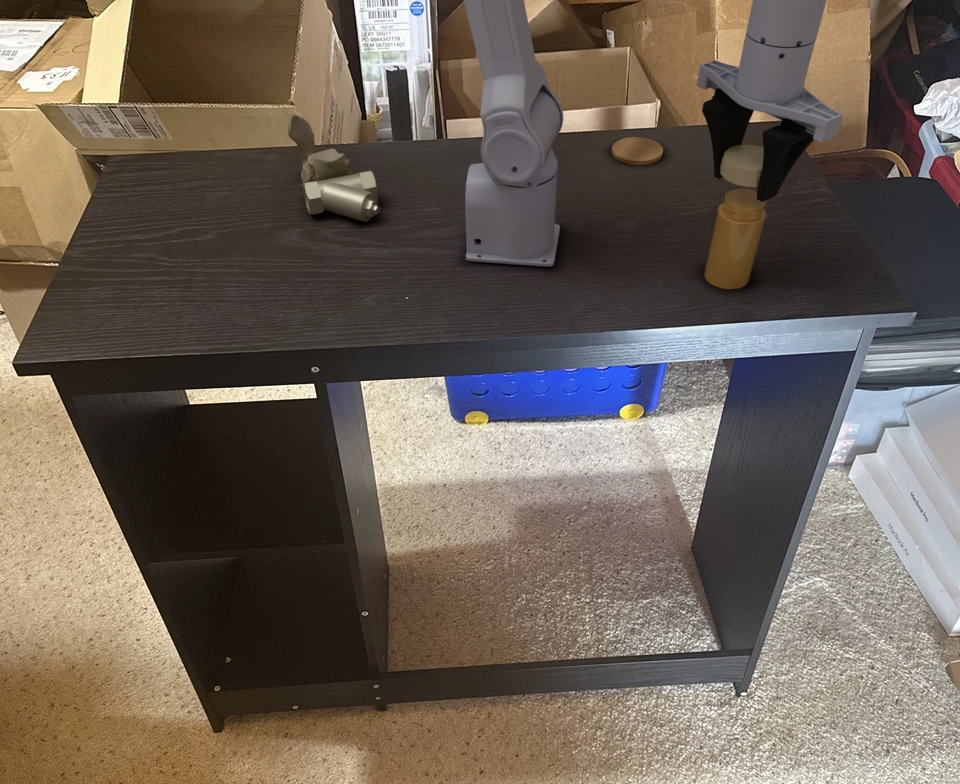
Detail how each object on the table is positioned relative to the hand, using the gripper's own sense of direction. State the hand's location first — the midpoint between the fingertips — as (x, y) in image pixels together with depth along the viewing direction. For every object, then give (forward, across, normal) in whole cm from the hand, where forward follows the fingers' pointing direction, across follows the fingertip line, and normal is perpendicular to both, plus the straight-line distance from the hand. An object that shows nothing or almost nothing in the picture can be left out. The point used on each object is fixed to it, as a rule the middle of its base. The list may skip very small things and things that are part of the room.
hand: (745, 186), depth 80 cm
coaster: (+10, +25, -11) cm, 29 cm away
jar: (+10, 0, 0) cm, 10 cm away
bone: (+10, +42, +24) cm, 49 cm away
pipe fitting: (+10, +35, +26) cm, 44 cm away
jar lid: (-2, 0, 0) cm, 2 cm away
